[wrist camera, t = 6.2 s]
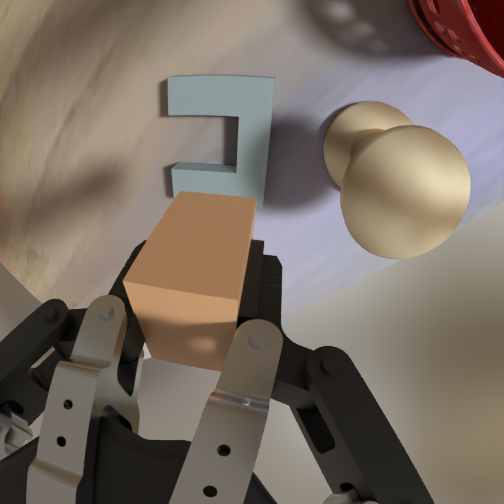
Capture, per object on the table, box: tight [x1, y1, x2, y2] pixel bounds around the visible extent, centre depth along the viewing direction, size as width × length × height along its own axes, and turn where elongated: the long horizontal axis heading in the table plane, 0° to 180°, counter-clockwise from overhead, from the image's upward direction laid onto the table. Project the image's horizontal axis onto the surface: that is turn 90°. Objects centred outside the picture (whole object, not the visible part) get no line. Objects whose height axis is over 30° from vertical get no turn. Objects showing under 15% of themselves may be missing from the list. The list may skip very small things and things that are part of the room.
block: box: [123, 191, 257, 371], centre depth 10 cm, size 4×3×5 cm
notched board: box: [168, 75, 276, 210], centre depth 26 cm, size 14×10×2 cm
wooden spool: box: [323, 101, 470, 259], centre depth 21 cm, size 11×11×11 cm
